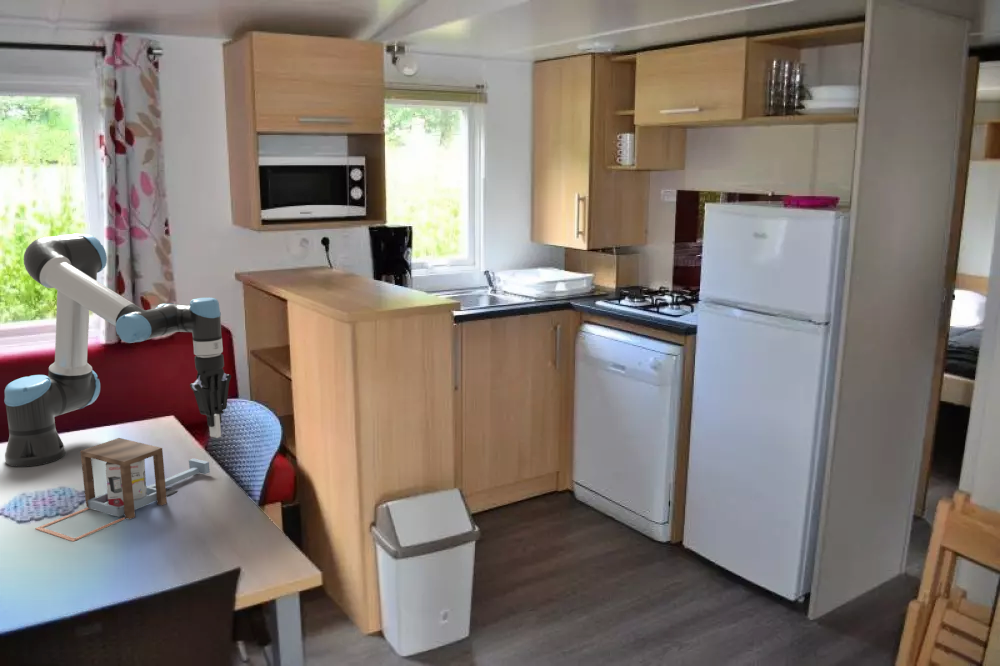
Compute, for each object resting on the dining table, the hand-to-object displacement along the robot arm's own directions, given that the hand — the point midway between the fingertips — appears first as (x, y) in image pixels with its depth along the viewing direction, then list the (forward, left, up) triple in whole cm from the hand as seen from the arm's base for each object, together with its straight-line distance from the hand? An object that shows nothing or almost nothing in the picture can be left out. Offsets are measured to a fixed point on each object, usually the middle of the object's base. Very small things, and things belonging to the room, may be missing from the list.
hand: (215, 436), depth 229 cm
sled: (0, -21, -9) cm, 22 cm away
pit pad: (0, -20, -9) cm, 22 cm away
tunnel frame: (0, -30, -9) cm, 31 cm away
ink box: (0, -29, -9) cm, 31 cm away
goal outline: (0, -42, -9) cm, 43 cm away
